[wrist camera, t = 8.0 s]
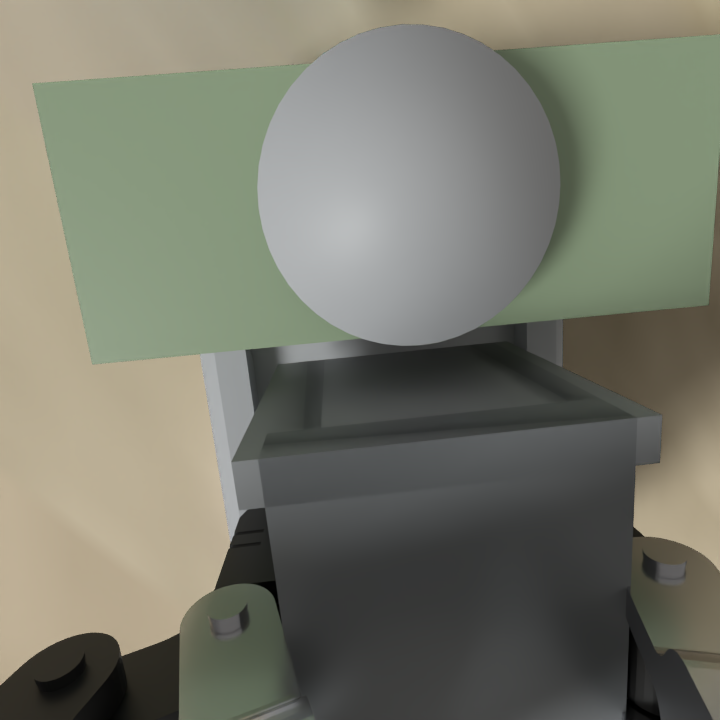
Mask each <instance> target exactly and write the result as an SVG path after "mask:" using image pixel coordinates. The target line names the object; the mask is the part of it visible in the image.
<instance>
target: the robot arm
mask: <svg viewBox="0 0 720 720" xmlns="http://www.w3.org/2000/svg"><path fill="white" fill-rule="evenodd" d="M626 619H627V622H628V624H629V648H628V674H627V700H626V711H625V712H622V720H720V572H719V570H718V569H717V568H716V566H715V565H714V564H713V563H712V562H711V561H710V560H709V559H708V558H707V557H705V556H704V555H702V554H701V553H699V552H698V551H696V550H694V549H692V548H690V547H688V546H686V545H683V544H680V543H677V542H674V541H671V540H667V539H662V538H656V537H644V536H643V535H642V534H641V533H640V532H639V531H638V530H636V529H635V528H634V527H633V544H632V570H631V586H628V587H627V592H626ZM0 720H315V719H314V716H313V712H312V709H311V706H310V703H309V700H308V698H307V696H306V695H305V696H301V692H300V689H299V685H298V682H297V678H296V674H295V671H294V667H293V664H292V660H291V656H290V653H289V649H288V646H287V642H286V638H285V635H284V631H283V627H282V620H281V614H280V607H279V600H278V593H277V586H276V579H275V573H274V566H273V559H272V552H271V545H270V539H269V532H268V525H267V518H266V511H265V508H257V509H248V510H247V511H246V512H245V513H244V514H243V515H242V516H241V517H240V518H239V520H238V523H237V526H236V529H235V532H234V536H233V538H232V541H231V544H230V549H228V552H227V555H226V558H225V561H224V564H223V567H222V570H221V573H220V575H219V578H218V581H217V584H216V587H215V590H214V591H213V592H211V593H209V594H207V595H205V596H204V597H202V598H201V599H200V600H198V601H197V602H196V603H195V604H194V605H193V606H192V607H191V608H190V609H189V610H188V611H187V613H186V614H185V616H184V618H183V620H182V622H181V625H180V633H179V634H177V635H175V636H173V637H171V638H169V639H167V640H165V641H162V642H160V643H157V644H155V645H152V646H149V647H146V648H144V649H141V650H138V651H135V652H132V653H130V654H127V655H124V656H121V652H120V648H119V644H118V642H117V641H116V640H115V639H114V638H113V637H112V636H110V635H108V634H103V633H85V634H80V635H76V636H73V637H70V638H67V639H64V640H62V641H59V642H57V643H55V644H53V645H51V646H49V647H47V648H46V649H44V650H42V651H41V652H39V653H38V654H36V655H35V656H33V657H32V658H31V659H29V660H28V661H27V662H26V663H25V664H23V665H22V666H21V667H20V668H19V669H18V670H17V671H16V672H15V673H13V674H12V675H11V676H10V677H9V678H8V679H7V680H6V681H5V682H4V683H3V684H2V685H0Z"/></svg>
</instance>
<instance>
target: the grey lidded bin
mask: <svg viewBox="0 0 720 720" xmlns="http://www.w3.org/2000/svg"><path fill="white" fill-rule="evenodd" d="M661 432H662V415H661V414H659V413H657V412H655V411H653V410H650V409H648V408H646V407H644V406H642V405H640V404H638V403H636V402H634V401H631V400H629V399H627V398H625V397H623V396H621V395H619V394H617V393H615V392H613V391H610V390H608V389H606V388H604V387H602V386H600V385H598V384H596V383H594V382H591V381H589V380H587V379H585V378H583V377H581V376H579V375H577V374H575V373H573V372H570V371H568V370H566V369H564V368H562V367H560V366H558V365H556V364H554V363H552V362H549V361H547V360H545V359H543V358H541V357H539V356H537V355H535V354H533V353H530V352H528V351H526V350H524V349H522V348H520V347H518V346H516V345H514V344H512V343H509V342H507V341H504V342H494V343H484V344H474V345H464V346H454V347H444V348H434V349H424V350H414V351H405V352H395V353H385V354H375V355H365V356H355V357H345V358H335V359H325V360H315V361H305V362H296V363H286V364H278V366H277V368H276V370H275V372H274V374H273V376H272V378H271V380H270V382H269V384H268V387H267V389H266V391H265V393H264V395H263V397H262V399H261V401H260V403H259V405H258V407H257V409H256V411H255V414H254V416H253V418H252V420H251V422H250V424H249V426H248V428H247V430H246V432H245V434H244V436H243V438H242V440H241V443H240V445H239V447H238V449H237V451H236V453H235V455H234V457H233V459H232V461H231V465H232V471H233V477H234V484H235V490H236V496H237V502H238V509H239V510H248V509H257V508H265V511H266V518H267V525H268V532H269V539H270V545H271V552H272V559H273V566H274V573H275V579H276V586H277V593H278V600H279V607H280V614H281V620H282V627H283V631H284V635H285V638H286V642H287V646H288V649H289V653H290V656H291V660H292V664H293V667H294V671H295V674H296V678H297V682H298V685H299V689H300V692H301V696H305V695H306V696H307V698H308V700H309V703H310V706H311V709H312V712H313V716H314V719H315V720H622V712H625V711H626V700H627V674H628V648H629V624H628V622H627V619H626V592H627V587H628V586H631V570H632V544H633V518H634V492H635V466H636V465H645V464H654V463H660V451H661Z"/></svg>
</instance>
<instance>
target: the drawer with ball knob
mask: <svg viewBox="0 0 720 720" xmlns="http://www.w3.org/2000/svg"><path fill="white" fill-rule="evenodd" d="M32 85H33V89H34V94H35V99H36V103H37V108H38V113H39V117H40V122H41V127H42V131H43V136H44V141H45V145H46V150H47V155H48V159H49V164H50V169H51V174H52V178H53V183H54V188H55V192H56V197H57V202H58V206H59V211H60V216H61V220H62V225H63V230H64V234H65V239H66V244H67V248H68V253H69V258H70V262H71V267H72V272H73V276H74V281H75V286H76V290H77V295H78V300H79V304H80V309H81V314H82V318H83V323H84V328H85V332H86V337H87V342H88V346H89V351H90V356H91V360H92V364H102V363H113V362H123V361H134V360H144V359H154V358H165V357H175V356H186V355H196V354H200V358H201V364H202V370H203V376H204V382H205V389H206V395H207V401H208V407H209V413H210V419H211V425H212V432H213V438H214V444H215V450H216V456H217V462H218V468H219V474H220V481H221V487H222V493H223V499H224V505H225V511H226V517H227V524H228V530H229V536H230V542H231V541H232V538H233V536H234V532H235V529H236V526H237V523H238V520H239V518H240V517H241V516H242V515H243V514H244V513H245V512H246V511H247V510H239V509H238V502H237V496H236V490H235V484H234V477H233V471H232V465H231V461H232V459H233V457H234V455H235V453H236V451H237V449H238V447H239V445H240V443H241V440H242V438H243V436H244V434H245V432H246V430H247V428H248V426H249V424H250V422H251V420H252V418H253V416H254V414H255V411H256V409H257V407H258V405H259V403H260V401H261V399H262V397H263V395H264V393H265V391H266V389H267V387H268V384H269V382H270V380H271V378H272V376H273V374H274V372H275V370H276V368H277V366H278V364H286V363H296V362H305V361H315V360H325V359H335V358H345V357H355V356H365V355H375V354H385V353H395V352H405V351H414V350H424V349H434V348H444V347H454V346H464V345H474V344H484V343H494V342H504V341H507V342H509V343H512V344H514V345H516V346H518V347H520V348H522V349H524V350H526V351H528V352H530V353H533V354H535V355H537V356H539V357H541V358H543V359H545V360H547V361H549V362H552V363H554V364H556V365H558V366H560V367H562V368H563V319H570V318H581V317H591V316H602V315H612V314H622V313H633V312H643V311H653V310H664V309H674V308H685V307H695V306H705V305H709V293H710V279H711V265H712V251H713V237H714V223H715V210H716V196H717V182H718V168H719V154H720V34H719V35H705V36H691V37H677V38H663V39H649V40H635V41H621V42H607V43H593V44H579V45H565V46H551V47H537V48H523V49H509V50H495V51H493V50H492V49H490V48H489V47H487V46H486V45H484V44H483V43H481V42H479V41H477V40H475V39H473V38H471V37H468V36H466V35H464V34H462V33H458V32H455V31H452V30H449V29H446V28H441V27H435V26H428V25H407V24H401V25H394V26H387V27H380V28H377V29H373V30H370V31H367V32H363V33H360V34H358V35H356V36H353V37H351V38H349V39H347V40H345V41H343V42H341V43H339V44H337V45H336V46H334V47H333V48H331V49H330V50H328V51H327V52H325V53H324V54H322V55H321V56H320V57H319V58H317V59H316V60H315V61H314V62H313V63H312V64H299V65H285V66H271V67H257V68H243V69H229V70H215V71H201V72H187V73H173V74H159V75H145V76H131V77H117V78H103V79H89V80H75V81H61V82H47V83H33V84H32Z"/></svg>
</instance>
